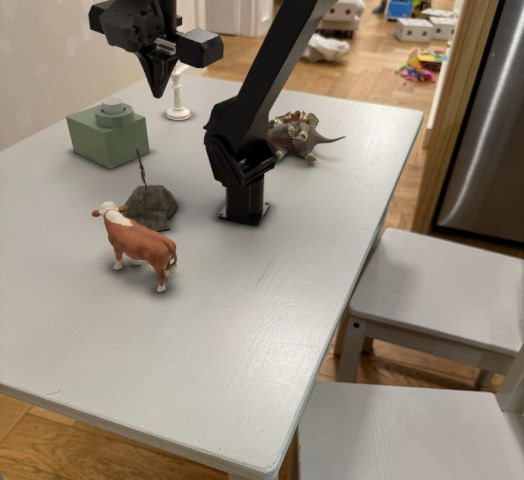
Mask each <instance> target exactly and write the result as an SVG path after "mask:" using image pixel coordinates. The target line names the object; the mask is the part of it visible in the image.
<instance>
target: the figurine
mask: <svg viewBox="0 0 524 480" xmlns="http://www.w3.org/2000/svg"><path fill="white" fill-rule="evenodd" d="M279 121H280V123H279ZM319 123H320V120H319V119H318V117H317V116H316V114H314V113H313V112H308V113H306V111H304V110H302V111H300V110H295V112H293V113H292V112H291V111H290V110H289V111H287V113H285V114H282V115H279V116H276V117H275V118H274V119H269V130H268V133H267V135H266V138H267V139H268V141H269V143H270V144H271V146H272V147H273V148H275V149H276V151H275V152H276V154H277V156H278V160H282V159H283V157H285V156H286V155H287V154H288V153H289V151H293V152H298V155H299V157H301V158H305V159H304V161H305V162H304V164H310V163H313V162H318V159H316V158H317V156H316V155H315V153H312V151H313V150H314V149H315V147H316V146H317V145H320V144H321V145H322V144H333V143H335V142H337V141H341V140H343V139H345V138H347V136H345V135H344V136H340V137H336V138H328V137H326V136H323V135H322V134H320V133H319V131H317V130H316V128H317V127H318V126H319V125H318V124H319Z"/></svg>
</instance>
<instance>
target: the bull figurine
mask: <svg viewBox="0 0 524 480" xmlns="http://www.w3.org/2000/svg"><path fill="white" fill-rule="evenodd" d="M126 211H128V207H127V206H124V205H120V206H118V207H117V205H116V204H115V203H114V202H113V201H105V202H103V203H102V205H101V206H100V209H94V210H92V211H91V216H92V217H93V218H99V217H100V216H101V217H102V218H103V224H104V227H105V230H106V232H107V239H108V240H107V241H108V242H109V244H110V245H111V246H112V247H113V251H114V259H115V264H114V265H113V270H114V271H119V270H120V269H121V270H122V269H123V264H122V260H123V259H124V258H123V255H124V254H125V255H126V256H127V257H128V258H130V259H131V260H133V261H132V264H133V266H138V265H141V264H142V263H145V264H146V265H149V264H150V266H151V267H152V268H153V270H154V271H155V274H156V275H157V278H158V281H159V284H158V286H157V288H156V292H157V293H162V292H164V291H165V290H166V281H167V279H168V276H169V275H171V276H174V275H175V274H176V271H177V269H178V268H177V267H178V264H177V261H178V256H177V244H176V243H175V241H174V240H173V239H171V238H169V237H167V236H165V235H163V233H162V234H161V232H159V231H152V230H150V229H148V228H146V227H144V226H142V225H139V224H138V223H136V222H135V221H133V220H132V219H129V218H126V217H124V212H126ZM122 213H123V214H122ZM172 260H173V261H172ZM171 261H172V263H171Z"/></svg>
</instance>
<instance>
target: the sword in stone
mask: <svg viewBox="0 0 524 480" xmlns="http://www.w3.org/2000/svg"><path fill="white" fill-rule="evenodd" d="M136 153H137V156H138V158H137V160H138V164H139V170H140V178H141V181H142V184H144V185H138V186H137V187H136V188H135V189H134V190H133V191H132V193H131V194H130V196H129V197H128V199H127V200H126V201H125V203H124V204H123V206H127V207H128V211H126V212H123V216H124V217H126V218H129V219H132V220H133V221H135V222H136V223H138V224H139V225H142V226H144V227H146V228H148V229H150V230H152V231H156V232H160V231H163V230H167V229H171V223H170V221H169V220H170V219H169V218H170V217H172V215H173V214H174V213H175V212H176V211H177V210H178V208H179V206H178V203H177V200H176V197H175V196H174V194H173V192H171V191H170V190H169V189H167V188H166V187H165V186H164V185H162V184H147V182H146V181H147V180H146V172H145V165H143V163H142V159H141V156H140V153H139V150H138V148H136Z"/></svg>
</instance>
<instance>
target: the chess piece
mask: <svg viewBox="0 0 524 480" xmlns="http://www.w3.org/2000/svg"><path fill="white" fill-rule="evenodd" d="M177 67H178V63H177V64H176V65H175V67H174V69H173V72H172V74H171V76H170V79H171V81H172V84H170V88H171V89H173V106H172V107H171V108H169V109H168V110H166V117H167V119H170V120H172V121H185V120H187V119H189V118H191V116H192V115H191V111H190V109H188V108H186V107H184V106H183V104H182V103H183V102H182V99H181V94H180V89H181V88H182V84H181V83H179V82H180V77H181V72H180V71H179V70H177Z"/></svg>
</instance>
